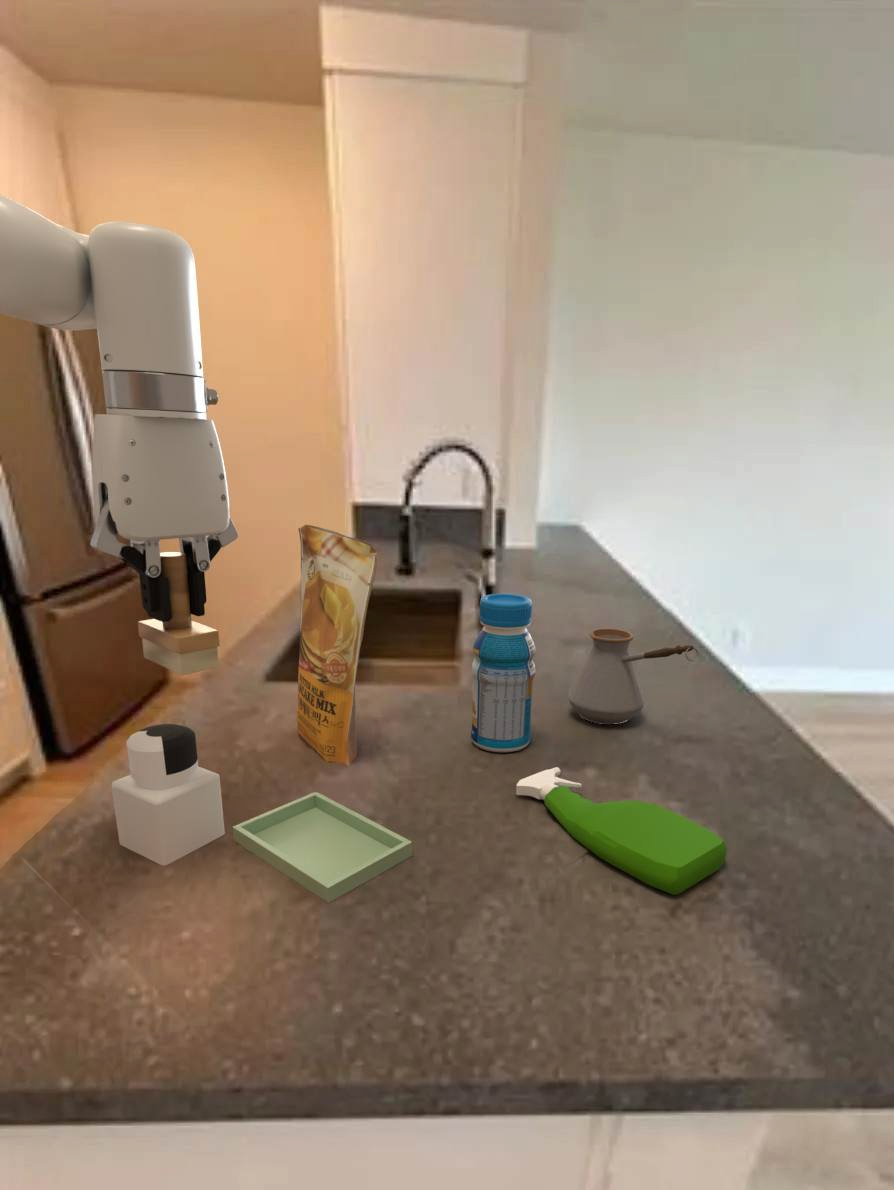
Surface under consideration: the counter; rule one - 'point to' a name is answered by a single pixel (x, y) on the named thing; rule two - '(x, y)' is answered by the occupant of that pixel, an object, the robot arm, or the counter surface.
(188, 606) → the brush
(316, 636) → the pancake mix bag
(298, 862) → the tray
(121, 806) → the medicine bottle
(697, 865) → the spray bottle
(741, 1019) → the counter surface
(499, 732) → the beverage bottle
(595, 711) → the coffee pot
